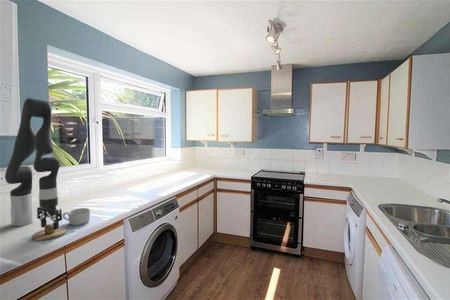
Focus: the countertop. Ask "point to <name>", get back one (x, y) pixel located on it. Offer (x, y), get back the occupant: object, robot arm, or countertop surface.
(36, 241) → the mat
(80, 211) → the teacup
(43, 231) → the lid
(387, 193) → the countertop surface
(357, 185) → the countertop surface
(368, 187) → the countertop surface
